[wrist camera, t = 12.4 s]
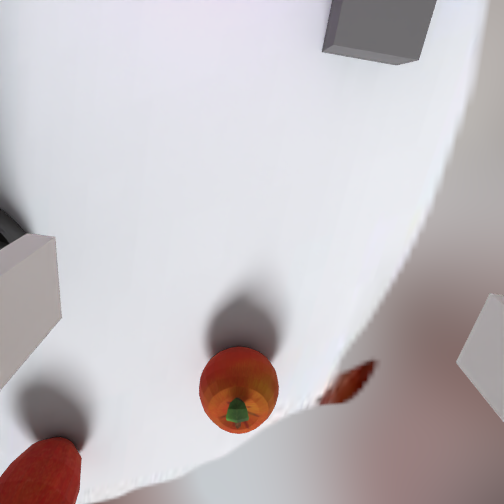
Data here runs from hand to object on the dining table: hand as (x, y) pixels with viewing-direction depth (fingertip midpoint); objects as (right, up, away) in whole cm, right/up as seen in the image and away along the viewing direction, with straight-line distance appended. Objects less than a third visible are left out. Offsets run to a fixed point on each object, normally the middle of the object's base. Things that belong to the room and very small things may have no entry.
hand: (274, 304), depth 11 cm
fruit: (-2, -13, +35) cm, 37 cm away
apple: (-29, -27, +41) cm, 57 cm away
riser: (+10, +22, +19) cm, 31 cm away
